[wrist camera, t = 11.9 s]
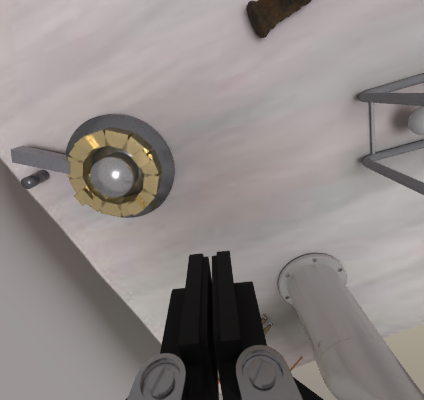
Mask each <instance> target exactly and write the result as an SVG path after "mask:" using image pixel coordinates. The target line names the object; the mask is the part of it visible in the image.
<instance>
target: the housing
mask: <svg viewBox="0 0 424 400" xmlns="http://www.w3.org/2000/svg"><path fill="white" fill-rule="evenodd" d="M109 127H110V128H112V127H115V128H120V129H124V130H128V131H133V132H134V134H136V133H137V134H138V135H139V136H141V137H142V138H143V139H144V140H145V141H146V142H148V143H149V144H150V145H151V146H152V147H153V148H152V149H151V150H154V149H155V151H156V154H157V156H158V159H159V161H160V164H161V166H162V169H161V170H162V177H161V183H160V189H159V191H158V193H157V195H156V197H155V198H154V199H153V200H152V201H151V202H150V203H149V205H148V206H147V207H146V208H145V209H144V210H143V211H141V212H140V213H138V214H136V215H135V216H134V215H133V214H131V215H128V216H124V217H126V218H128V217H138V216H142V215H145V214H147V213H150V212H152V211H153V210H155V209H156V208H157V207H159V206H160V205H161V204H162V203H163V202H164V201H165V199H166V198H167V196H168V194H169V192H170V190H171V187H172V184H173V181H174V161H173V157H172V154H171V152H170V149H169V147H168V146H167V144H166V142H165V141H164V139H163V138H162V137H161V136H160V134H159V133H158V132H157V131H156V130H154V129H153V128H152V127H151V126H149V125H148V124H146V123H145V122H143V121H141V120H139V119H137V118H134V117H131V116H127V115H122V114H108V115H103V116H98V117H95V118H92V119H90V120H88V121H86V122H85V123H83V124H82V125H81V126H80V127H79V128H78V129H77V130H76V131H75V132H74V134H73V135H72V137H71V138H70V141H69V143H68V146H67V150H66V155H69V153H70V152H71V150H72V149H73V148H74V146H75V145H74V144H75V143H76V142H78V140H79V139H80V138H83V136H86V135H89V134H91V133H94V132H97V131H100V130H103V129H106V128H109ZM151 150H150V151H151ZM69 178H70V177H69ZM90 178H91V182H92V184H93V186H94V187H95V188H96V190H97V191H99V192H100V193H101V194H103V195H105V196H108V197H114V198H115V197H128V196H131V195H135V194H138V193H139V192H140V191H141V190H142V189H143V183H144V173H143V171H142V169H141V168H139V166H138V165H137V164H136V162H135V161H134V160H133V159H132V155H131V154H129V153H128V152H127V151H126V150H124V149H121V148H116V147H112V146H104V147H101V148H99V149H98V150H97V151H96V153H95V154H94V155H93V157H92V169H91V172H90ZM47 179H49V173H48V172H47V171H45V170H41V171H38V172H36V173H34V174H32V175H30V176H28V177H26V178H23V179H22V180H21V184H22V186H23V187H24V188H26V189H30V188H32V187H34V186H36V185H38V184H40V183H42V182H43V181H45V180H47ZM70 179H71V178H70ZM100 211H101V210H100ZM112 216H113V215H112ZM117 217H118V216H117ZM121 217H123V215H122V216H121Z"/></svg>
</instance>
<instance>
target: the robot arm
mask: <svg viewBox="0 0 424 400" xmlns="http://www.w3.org/2000/svg"><path fill="white" fill-rule="evenodd" d="M346 281H347V275H346V271H345V269H344V268H343V266H342V265H341V264H340V262H339V261H338V260H336V259H335V258H333V257H331V256H329V255H325V254H309V255H304V256H301V257H299V258H297V259H295V260H293V261H292V262H290V263H289V264H288V265H287V266H286V267H285V268H284V269H283V271H282V272H281V274H280V277H279V281H278V287H279V291H280V294H281V295H282V297H283V299H284V300H285V301H286V302H288V303H289V304H291V305H293V306H294V307H295V309H296V312H297V314H298V317H299V319H300V322H301V325H302V327H303V330H304V332H305V335H306V337H307V340H308V342H309V345H310V347H311V350H312V352H313V355H314V358H315V360H316V362H317V365H318V368H319V370H320V373H321V375H322V377H323V380H324V382H325V384H326V385H327V387H328V389H329V390H330V391H331V393H332V394H333V395H334V396H335V397H336V398H337V399H338V400H424V394H423V393H422V392H421V390H420V389H419V388H418V387H417V385H416V384H415V383H414V381H413V380H412V379H411V377H410V376H409V375H408V373H407V372H406V370H405V369H404V368H403V367H402V365H401V364H400V362H399V361H398V360H397V358H396V357H395V356H394V354H393V352H392V351H391V350H390V348H389V347H388V345H387V344H386V343H385V341H384V340H383V338H382V337H381V335H380V334H379V333H378V331H377V330H376V328H375V327H374V325H373V324H372V323H371V321H370V320H369V318H368V317H367V315H366V314H365V313H364V311H363V310H362V308H361V307H360V305H359V304H358V303H357V301H356V300H355V298H354V297H353V295H352V294H351V293H350V291H349V290H348V288H347V287H346V286H345V285H346ZM218 372H219V378H220V384H221V390H222V396H223V400H323V399H322V398H321V397H319V396H318V395H317V394H315V393H314V392H312V391H311V390H310V389H308V388H307V387H306V386H304V385H303V384H302V383H300V382H299V381H298V380H296V379H295V378H294V377H293V376H292V374H291V372H290V369H289V367H288V365H287V363H286V361H285V360H284V358H283V356H282V355H281V354H280V353H279V352H277V351H276V350H275V349H273V348H271V347H269V346H267V344H266V339H265V335H264V330H263V326H262V322H261V317H260V313H259V308H258V304H257V299H256V295H255V291H254V286H253V283H252V282H242V283H234V282H233V274H232V266H231V258H230V251H222V252H217V256H212V278H211V272H210V265H209V258H208V257H203V254H193V255H190V256H189V263H188V271H187V279H186V287H185V288H181V289H173V290H172V293H171V299H170V304H169V309H168V314H167V320H166V325H165V330H164V336H163V341H162V346H161V352H160V354H159V355H156V356H154V357H152V358H151V359H149V360H148V361H147V362H146V363H145V364H144V365H143V366H142V367H141V368H140V370H139V372H138V374H137V376H136V378H135V381H134V383H133V386H132V388H131V391H130V394H129V396H128V398H127V399H126V400H219V390H218Z"/></svg>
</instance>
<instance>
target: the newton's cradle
mask: <svg viewBox="0 0 424 400" xmlns="http://www.w3.org/2000/svg"><path fill="white" fill-rule="evenodd" d="M423 82H424V73H423V74H420V75H416V76H413V77H410V78H406V79H403V80H400V81H396V82H393V83H390V84H386V85H383V86H380V87H376V88H373V89H370V90H367V91H364V92H363V93H361V94H360V96H359V98H360V101H362V102H370V107H371V140H372V154H371V155H368V156H366V157H365V158H364V159H363V160H362V163H363V165H364V166H365V167H367V168H369V169H371V170H373V171H375V172H377V173H379V174H381V175H383V176H385V177H387V178H390V179H392V180H394V181H396V182H398V183H400V184H402V185H404V186H406V187H408V188H410V189H412V190H414V191H416V192H418V193H421V194H423V195H424V183H423V182H421V181H418V180H416V179H413V178H411V177H409V176H406V175H404V174H402V173H399V172H397V171H395V170H392V169H390V168H388V167H385V166H383V165H381V164H378V163H376V162H374V161H376V160H380V159H383V158H387V157H391V156H395V155H398V154H402V153H406V152H410V151H413V150H417V149H421V148H424V140H422V141H418V142H414V143H410V144H407V145H403V146H399V147H396V148H392V149H388V150H385V151H381V152H377V153H375V133H374V103H387V104H402V105H416V106H422V107H420V108H418V109H416V110H415V111H414V112H413V113H412V114H411V115H410V117H409V120H408V126H409V129H410V130H411V131H412V132H413V133H415V134H418V135H424V93H389V92H392V91H396V90H399V89H402V88H406V87H409V86H413V85H416V84H419V83H423Z"/></svg>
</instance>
